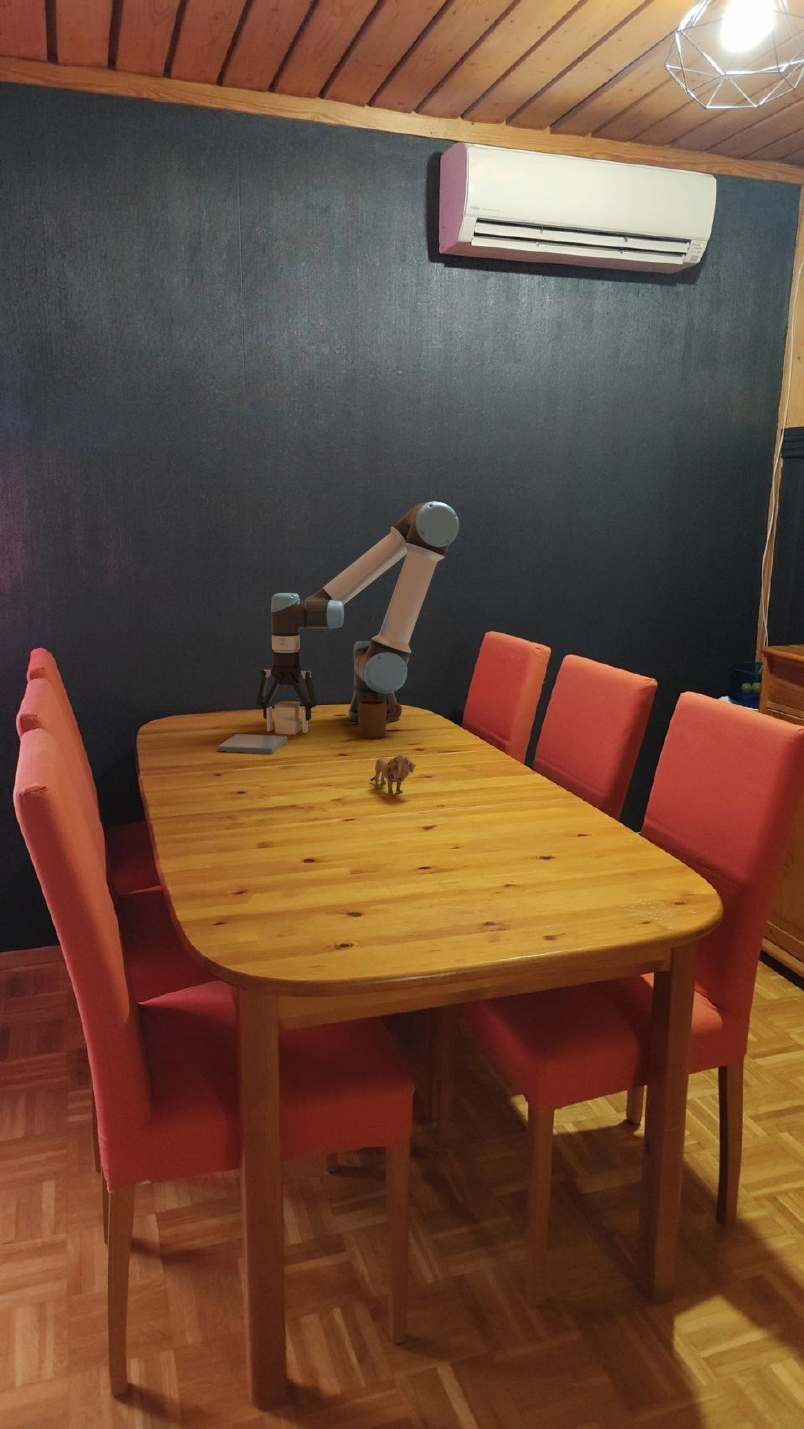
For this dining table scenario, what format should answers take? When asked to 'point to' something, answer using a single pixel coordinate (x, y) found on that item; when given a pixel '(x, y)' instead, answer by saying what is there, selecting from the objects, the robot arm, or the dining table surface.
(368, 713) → the mug
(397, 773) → the lion figurine
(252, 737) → the slate board
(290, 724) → the oak block
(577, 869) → the dining table surface
